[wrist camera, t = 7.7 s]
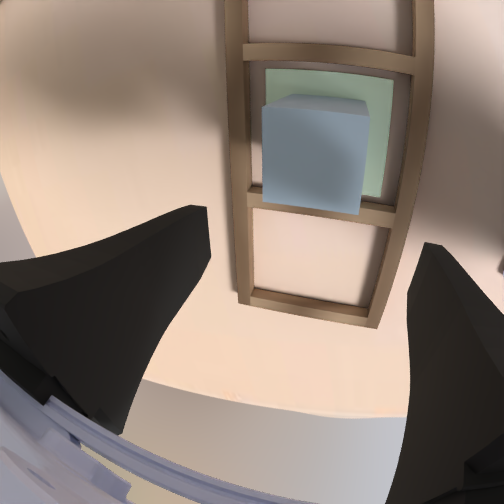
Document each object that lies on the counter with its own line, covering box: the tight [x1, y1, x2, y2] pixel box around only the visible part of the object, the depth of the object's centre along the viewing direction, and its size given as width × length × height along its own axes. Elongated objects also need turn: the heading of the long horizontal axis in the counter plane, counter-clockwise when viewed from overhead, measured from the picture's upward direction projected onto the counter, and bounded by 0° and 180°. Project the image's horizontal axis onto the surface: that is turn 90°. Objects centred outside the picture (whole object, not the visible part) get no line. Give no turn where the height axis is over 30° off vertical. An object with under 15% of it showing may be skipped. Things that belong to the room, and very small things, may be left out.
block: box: [262, 94, 370, 215], centre depth 14 cm, size 4×4×6 cm
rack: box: [224, 0, 435, 329], centre depth 16 cm, size 11×27×1 cm, turn 1°
